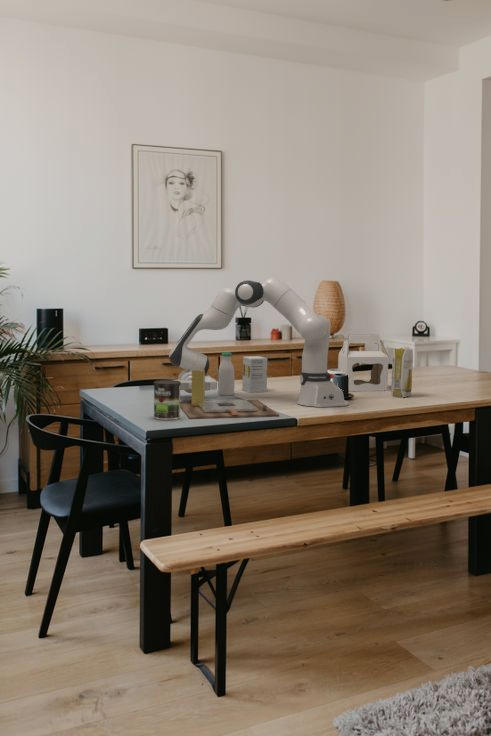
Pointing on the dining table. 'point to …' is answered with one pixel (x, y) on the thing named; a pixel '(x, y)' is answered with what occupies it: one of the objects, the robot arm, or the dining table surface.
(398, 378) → the juice carton
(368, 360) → the gable box
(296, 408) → the dining table surface
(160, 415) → the coffee can
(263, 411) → the base board
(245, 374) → the supplement box
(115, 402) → the dining table surface
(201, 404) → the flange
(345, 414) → the dining table surface
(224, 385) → the milk bottle
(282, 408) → the dining table surface
